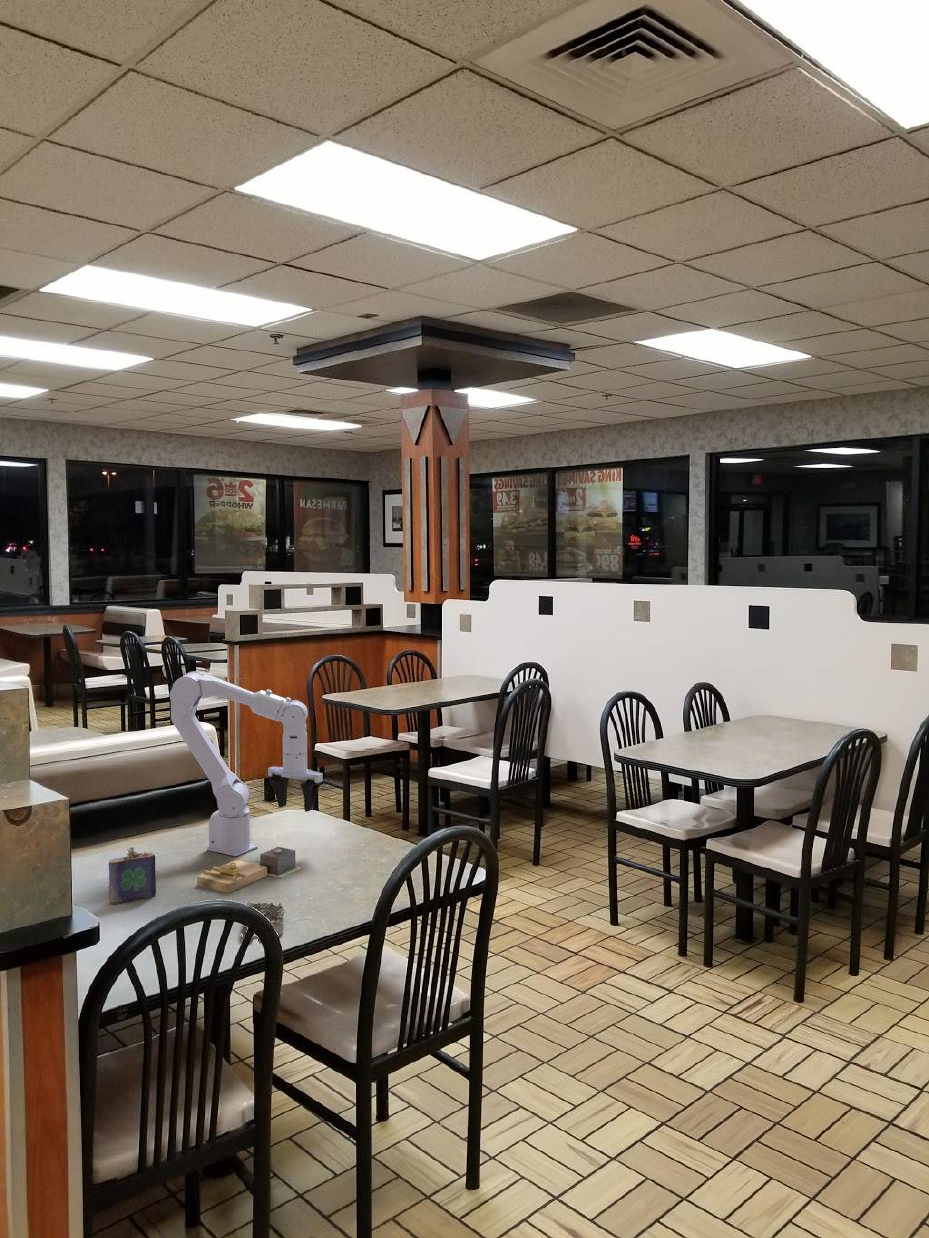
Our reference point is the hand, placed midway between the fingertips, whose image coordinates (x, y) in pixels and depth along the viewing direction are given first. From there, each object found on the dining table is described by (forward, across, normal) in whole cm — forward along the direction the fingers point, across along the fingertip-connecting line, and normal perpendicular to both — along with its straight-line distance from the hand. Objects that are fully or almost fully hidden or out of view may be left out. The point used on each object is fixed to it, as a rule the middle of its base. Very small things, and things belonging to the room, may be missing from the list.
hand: (295, 808), depth 226 cm
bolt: (+8, +2, -26) cm, 27 cm away
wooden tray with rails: (+10, 0, -24) cm, 26 cm away
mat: (+10, +6, -14) cm, 18 cm away
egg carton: (+10, +22, -40) cm, 47 cm away
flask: (+10, -11, -41) cm, 44 cm away
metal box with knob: (+10, +6, -14) cm, 18 cm away
